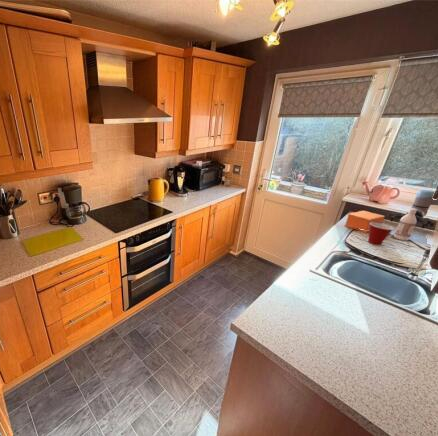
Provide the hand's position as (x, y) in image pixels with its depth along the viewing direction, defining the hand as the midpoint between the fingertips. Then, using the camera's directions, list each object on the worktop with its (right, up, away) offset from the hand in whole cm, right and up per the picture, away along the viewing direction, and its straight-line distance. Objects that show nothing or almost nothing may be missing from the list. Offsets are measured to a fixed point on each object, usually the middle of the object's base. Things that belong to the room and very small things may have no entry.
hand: (407, 222), depth 142 cm
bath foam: (+3, -10, +6) cm, 12 cm away
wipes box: (-7, -4, +23) cm, 24 cm away
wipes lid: (-7, +4, +19) cm, 21 cm away
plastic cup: (-20, -13, 0) cm, 23 cm away
